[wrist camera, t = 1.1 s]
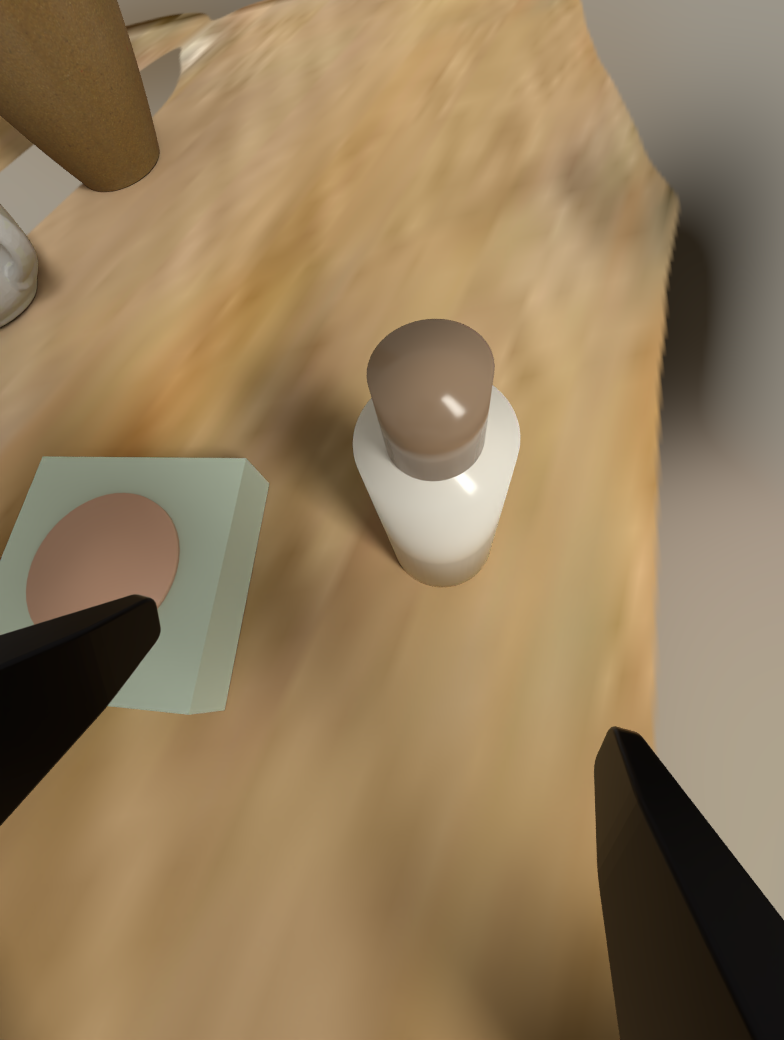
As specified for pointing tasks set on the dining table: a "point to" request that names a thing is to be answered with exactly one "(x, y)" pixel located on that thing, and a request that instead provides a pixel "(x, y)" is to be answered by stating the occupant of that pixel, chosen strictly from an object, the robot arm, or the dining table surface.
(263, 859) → the dining table surface
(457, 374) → the cosmetic bottle
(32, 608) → the stacking base
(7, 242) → the teacup
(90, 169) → the plant pot
